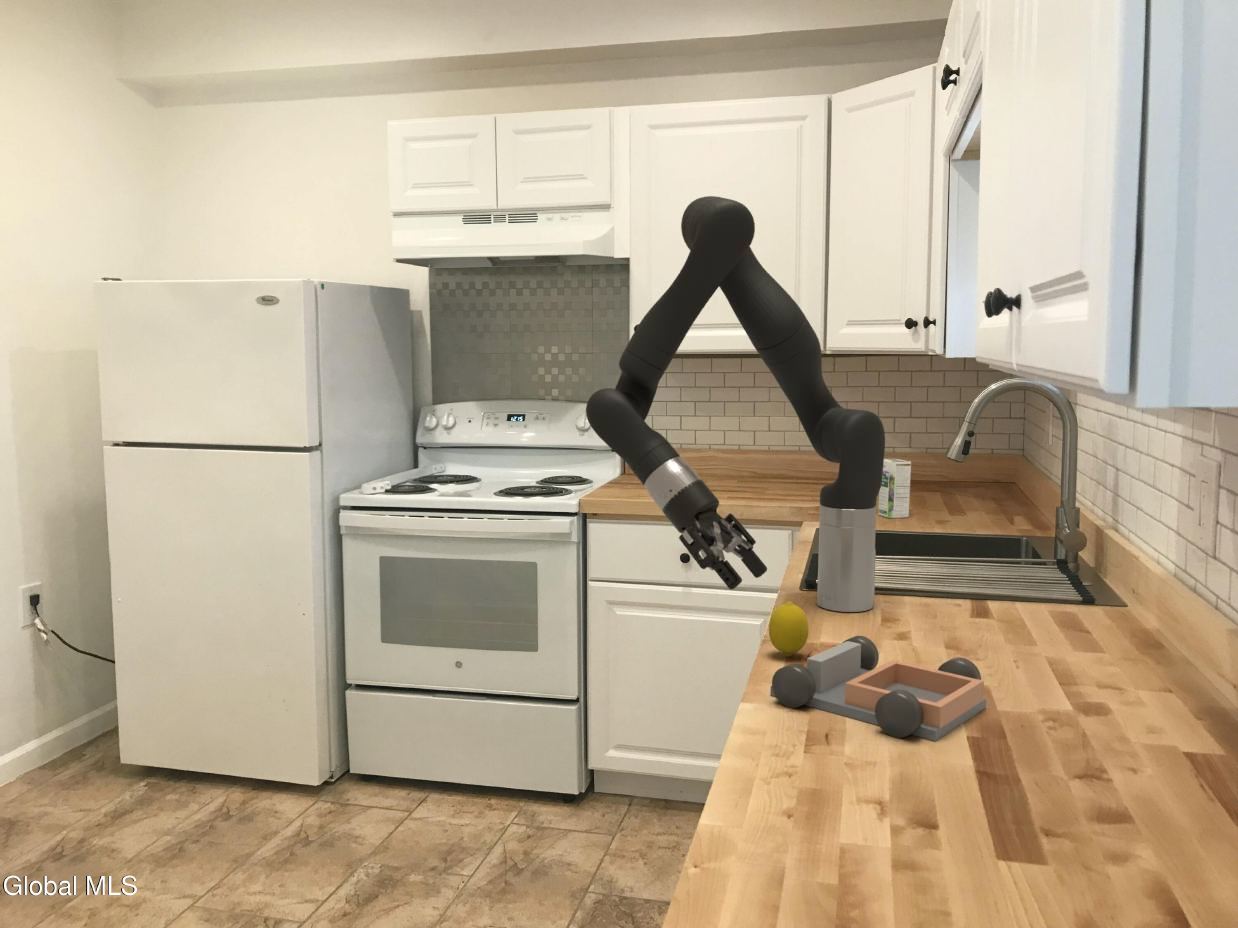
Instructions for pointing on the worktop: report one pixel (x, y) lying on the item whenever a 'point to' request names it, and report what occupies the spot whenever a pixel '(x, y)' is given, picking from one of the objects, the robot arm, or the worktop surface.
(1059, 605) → the worktop surface
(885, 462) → the syrup box
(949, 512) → the worktop surface
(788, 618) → the lemon
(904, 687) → the chassis
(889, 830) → the worktop surface
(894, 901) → the worktop surface
